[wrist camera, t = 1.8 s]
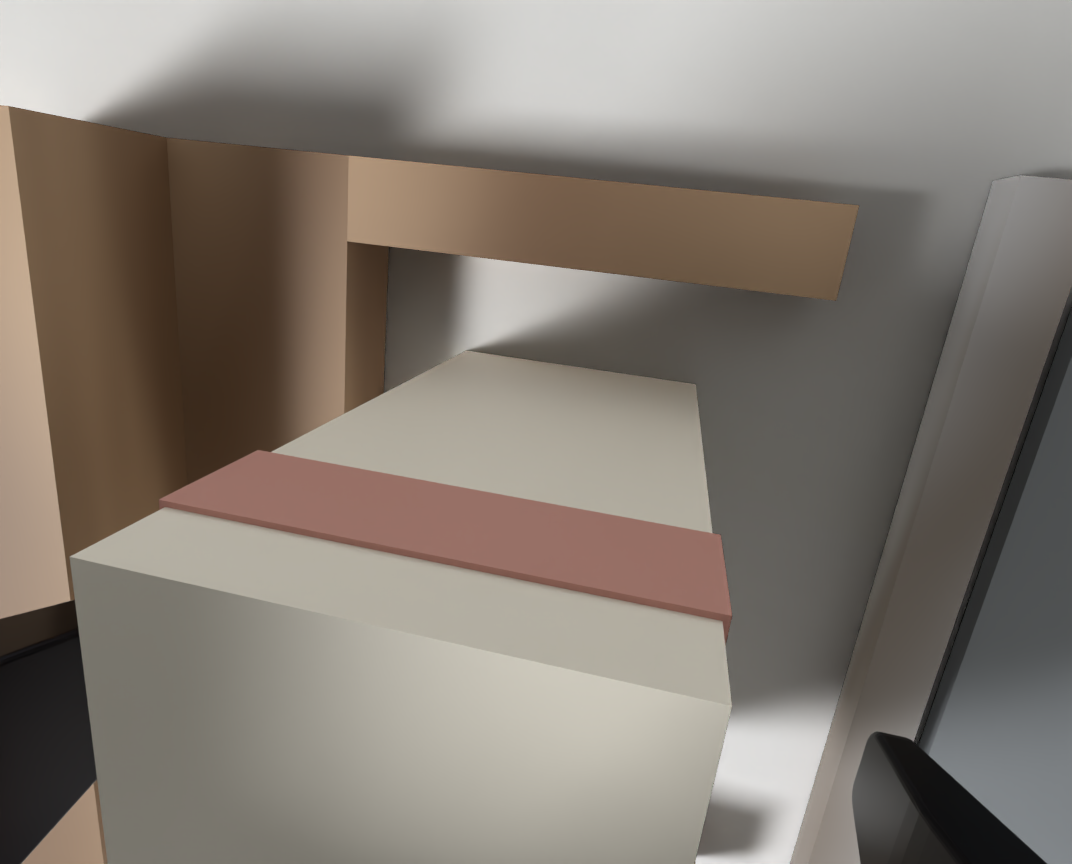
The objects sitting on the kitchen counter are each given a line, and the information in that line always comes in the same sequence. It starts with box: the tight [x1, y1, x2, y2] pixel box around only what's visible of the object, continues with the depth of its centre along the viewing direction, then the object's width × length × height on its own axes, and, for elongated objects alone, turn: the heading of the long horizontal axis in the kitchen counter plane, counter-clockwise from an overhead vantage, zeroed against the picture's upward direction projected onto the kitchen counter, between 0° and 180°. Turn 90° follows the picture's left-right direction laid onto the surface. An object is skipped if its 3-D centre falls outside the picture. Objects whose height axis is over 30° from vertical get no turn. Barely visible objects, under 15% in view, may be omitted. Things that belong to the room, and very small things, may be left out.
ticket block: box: [70, 351, 732, 864], centre depth 9 cm, size 4×7×8 cm, turn 174°
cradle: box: [0, 105, 1072, 864], centre depth 11 cm, size 16×14×4 cm
